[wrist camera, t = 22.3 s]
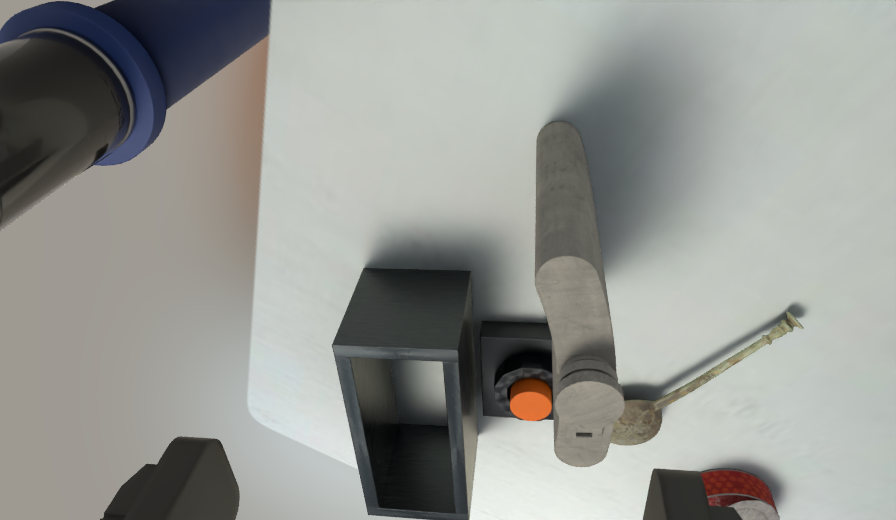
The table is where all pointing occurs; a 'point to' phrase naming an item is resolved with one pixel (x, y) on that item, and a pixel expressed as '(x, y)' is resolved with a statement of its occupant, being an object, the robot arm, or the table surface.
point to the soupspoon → (680, 394)
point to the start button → (531, 399)
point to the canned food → (740, 493)
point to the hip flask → (574, 300)
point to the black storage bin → (373, 397)
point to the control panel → (513, 362)
